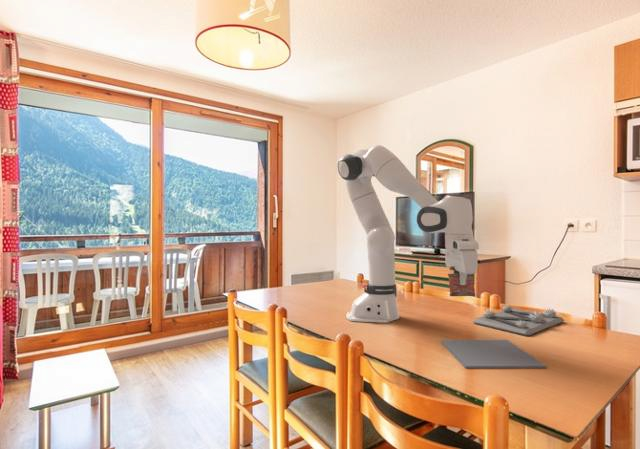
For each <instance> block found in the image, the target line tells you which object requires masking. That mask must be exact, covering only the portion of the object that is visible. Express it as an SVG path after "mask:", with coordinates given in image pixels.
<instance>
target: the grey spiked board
mask: <svg viewBox="0 0 640 449" xmlns="http://www.w3.org/2000/svg"><path fill="white" fill-rule="evenodd" d="M494 311H495V310H493V309H489V308H488V309H487V310H486V309H484V310H483V312H482V316H480V317H477V318H474V319H473V320H472V322H473V323H474V324H475V325H477V326H482V327H487V328H491V329H496V330H499V331H503V332H508V333H512V334H516V335H521V336H525V337H529V336H531V335H534V334H536V333H538V332H541V331H544V330H546V329H549V328H551V327H554V326H556V325H559V324H561V323H563V322H564V321H565V319H564V318H563V317H562V316H559V315H558V312H559V311H556V310H555V309H554V308H548V307H546V309H544V310H543V312H542V311H538V310H533V311H530V310H525V309H520V308H516V307H515V308H514V307H513V306H511V305H510V304H505V305H503V306H502V307H501V310H500V311H497V312H496V311H495V312H494Z"/></svg>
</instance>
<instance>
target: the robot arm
mask: <svg viewBox="0 0 640 449" xmlns="http://www.w3.org/2000/svg"><path fill="white" fill-rule="evenodd" d="M337 171H338V172H337V173H338V174H339V176H340V177H341V179H343V180H345V181H346V182H345V184H346V188H347V189H346V190H347V192H348V196H349V199H350V201H351V205H352V206H353V208H354V211H355V213H356V215H357V218H358V220H359V221H360V225H361V226H362V228H363V229H364V231H365V233H366V240H367V241H366V246H367V248H366V249H367V259H368V283H363V284H362V288H363V290H364V293H362V294H360V296H358V297H356V299H354V300H353V302H352V304H351V308H350V309H351V310H350V311H347V312H346V318H347V320H349V321H350V322H359V323H360V322H361V323H381V324H382V323H383V324H388V323H390V322H392V321H395V320H399V319H400V314H399V310H398V309H399V308H398V306H397V303H398V302H397V294H398V293H397V292H398V289H397V288H398V287H397V284H396V262H395V261H396V258H395V255H396V254H395V240H396V239H395V235H396V234H395V233H394V231H393V228H392V226H391V224H390V222H389V220H388V217H387V215H386V213H385V210H384V209H383V207H382V206H383V205H382V204H381V201H380V199H379V197H378V194H377V192H376V191H375V188H374V186H373V183H372V178H373V177H374V178H375V179H376V180H377V182H379V183H380V184H381V185H382V186H383V187H384V188H385V189H387V190H388V191H390V192H394V193H398V194H400V195H403V196H405V197H407V198H409V199H411V200H412V201H414V202H415V203H416V204H417V205H418V206H419V207H420V210H418V212H417V215H416V223H417V226H418V228H419V229H420V230H421V231H423V232H424V233H429V234H437V233H438V234H439V233H440V234H441V233H443V234H444V247H445V260H444V262H445V266H446V267H447V268H449V267H452V266H454V267H455V270H456V273H457V272H458V271H459V275H460V280H459V281H460V285H466V278H467V274H473V275H475V274H476V273H477V271H478V251H477V250H479V248H480V247H479V242H478V241H476V239H475V237H474V231H473V228H472V225H473V221H474V216H473V207H472V206H473V205H472V202H471V199H470V198H469V197H468V196H466V195H460V194H446V195H445V196H444V197H443V198H441V200H438V198H437V197H435V196H434V195H433V194H432V193H431V192H430V191H429V190H428V189H427V188H426V187H425V186H424V185H423V184H422V183H421V182H419V180H418V179H417V178H416V177H415V176H414V175H413V173H412V172H411V171H410V170H409V169H408V168H407V166H406V165H405V164H404V163H403V162H402V160H400V159H399V158H398V156H396V155H395V154H394V153H393V152H392V151H391V150H390V149H388V148H386V147H385V146H383V145H380V144H379V145H374V146H372V147H370V148H364V149H360V150H359V149H358V150H357V151H355V152H351V153H350V154H345V155H344V156H342V157H341V158H339V160H338V163H337ZM452 273H454V270H452Z"/></svg>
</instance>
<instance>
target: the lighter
mask: <svg viewBox="0 0 640 449" xmlns="http://www.w3.org/2000/svg"><path fill="white" fill-rule="evenodd" d="M448 268H449V271H453V270H454V273H453V272H452V273H447V276H448V285H449V287H448V288H449V297H475V296H476V293H475V286H474V284H475V283H474V274H467V278H466V285H460V281H459V280H460V275H459V271H458V272H457V273H456V270H455V267H454V266H452V267H448Z"/></svg>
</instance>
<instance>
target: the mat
mask: <svg viewBox="0 0 640 449" xmlns="http://www.w3.org/2000/svg"><path fill="white" fill-rule="evenodd" d="M440 343H441V344H442V345H443V346H444V347H445V348H446V349H447V350H448V351H449V352H450V354H452V355H453V357H454V358H455V359H456V360H457V361H458V362H459V363H460V364H461V366H463V368H464V369H547V365H546V364H544V363H543V362H541V361H540V360H538V359H537V358H535V357H534V356H532V355H531V354H530V353H528V352H526V351H525V350H523V349H521V348H520V347H519V346H517V345H516V344H514V343H513V342H511V341H510V340H509V339H440Z"/></svg>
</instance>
